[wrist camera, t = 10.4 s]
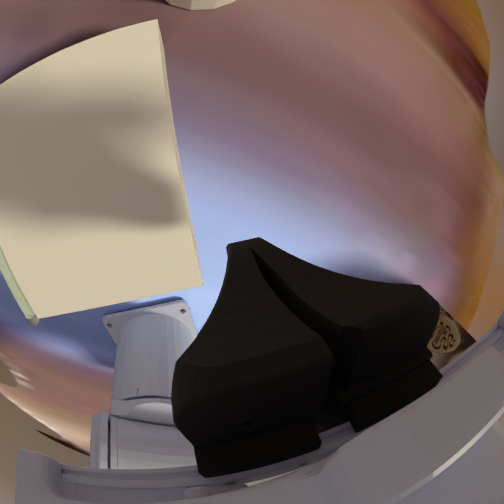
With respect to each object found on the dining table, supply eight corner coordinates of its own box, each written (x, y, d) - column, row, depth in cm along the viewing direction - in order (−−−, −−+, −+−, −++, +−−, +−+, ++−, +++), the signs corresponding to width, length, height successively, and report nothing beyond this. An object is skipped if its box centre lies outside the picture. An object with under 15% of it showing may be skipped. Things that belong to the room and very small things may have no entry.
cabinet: (195, 238, 20) (203, 285, 15) (63, 270, 18) (38, 318, 13) (163, 49, 13) (157, 19, 8) (16, 104, 11) (-33, 109, 6)
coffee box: (422, 285, 31) (500, 363, 17) (408, 320, 34) (473, 396, 21) (373, 301, 29) (457, 403, 15) (361, 339, 32) (427, 433, 19)
